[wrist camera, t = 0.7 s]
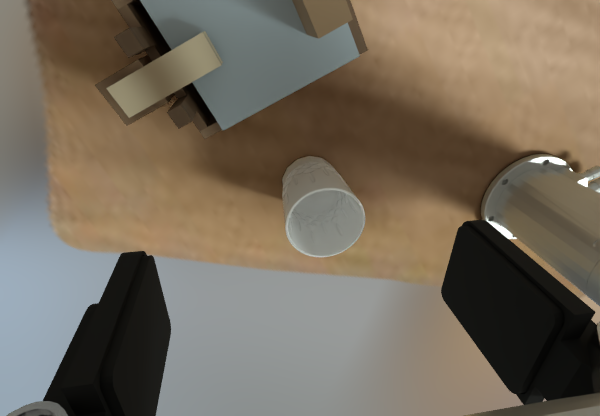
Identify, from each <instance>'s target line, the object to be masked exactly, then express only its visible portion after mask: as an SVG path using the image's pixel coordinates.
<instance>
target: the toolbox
mask: <svg viewBox="0 0 600 416" xmlns="http://www.w3.org/2000/svg"><path fill="white" fill-rule="evenodd" d="M111 1H112V2H113V4H114V5H115V7H116V8H117V10H118V11H119V13H120V14H121V16H122V17H123V18H124V20H125V21H126V23H127V24H128V26H129V27H130V28H129V29H127V30H125V31H124V32H122V33H120V34H119V35H117V36H115V37H114V38H115V39H116V41H117V42H118V44H119V45H120V47H121V48H122V49H123V51H124V52H125V54H126V55H127V56H128V58H129V57H132V56H134V55H137V54H139V53H142V52H144V51H146V53H147V54H148V55H147V56H145V57H143V58H140V59H138V60H137V61H135V62H133V63H131V64H130V65H128V66H126V67H125V68H123V69H121V70H120V71H118V72H116V73H115V74H113V75H111V76H109V77H108V78H106V79H104V80H103V81H101V82H99V83H98V84H96V85H95V86H96V87H97V89H98V90H99V91H100V92H101V94H102V95H103V96H104V98H105V99H106V100H107V101H108V103H109V104H110V105H111V106H112V108H113V109H114V110H115V112H116V113H117V114H118V115H119V117H120V118H121V119H122V120H123V122H124V123H125V124H126V126H127V125H129V124H131V123H133V122H134V121H136V120H138V119H140V118H142V117H143V116H145V115H147V114H149V113H150V112H152V111H154V110H156V109H157V108H159V107H161V106H163V105H164V104H166V103H168V102H169V101H170V100H171V99H172V97H173V96H174V95H175V96H176V97H177V99H178V100H177V101H176V102H175V103H174V104H173V105H172V107H171V108H170V109H169V111H168V112H167V113H168V115H169V116H170V117H171V119H172V120H173V122H174V123H175V124H176V126H177V127H178V129H179V128H181V127H183V126H185V125H186V124H188V123H190V122H192V121H193V122H194V124H195V125H196V127H197V128H198V130H199V131H200V133H201V134H202V136H203V137H204V139H206V138H208V137H210V136H211V135H213V134H215V133H217V132H219V131H221V130H222V128H221V127H220V125H219V124H218V122H217V121H216V119H215V117H214V116H213V114H212V113H211V111H210V110H209V108H208V106H207V105H206V103H205V102H204V100H203V99H202V97H201V95H200V94H199V92H198V91H197V89H196V88H195V86H194V84H193V83H192V82H191V83H190V84H188V85H186V86H184V87H183V88H181V89H179V90H177V91H176V92H174V93H172V94H170V95H169V96H167V97H165V98H163V99H162V100H160V101H158V102H156V103H155V104H153V105H151V106H149V107H148V108H146V109H144V110H142V111H141V112H139V113H137V114H135V115H133V116H132V117H130V118H129V117H128V116H127V115H126V113H125V112H124V111H123V109H122V108H121V107H120V106H119V104H118V103H117V102H116V100H115V99H114V98H113V97H112V95H111V94H110V93H109V91H108V90H107V89H106V88H108V87H110V86H111V85H113V84H115V83H116V82H118V81H120V80H122V79H123V78H125V77H127V76H128V75H130V74H132V73H134V72H135V71H137V70H139V69H140V68H142V67H144V66H145V65H147V64H149V63H151V62H152V61H154V60H156V59H157V58H159V57H161V56H163V55H164V54H166V53H168V52H169V51H171V48H170V47H169V45H168V44H167V42H166V40H165V39H164V37H163V36H162V34H161V33H160V31H159V29H158V28H157V26H156V25H155V23H154V21H153V20H152V18H151V17H150V15H149V14H148V12H147V10H146V9H145V7H144V6H143V4H142V3H141V1H140V0H111ZM346 1H347V4H348V7H349V10H350V12H351V15H352V18H353V20H351V21H349V22H348V25H349V28H350V30H351V33H352V36H353V39H354V41H355V44H356V47H357V49H358V52H359V55H360V54H362V53H363V52H365V51H367V47H366V44H365V41H364V38H363V35H362V33H361V30H360V27H359V24H358V21H357V18H356V16H355V13H354V10H353V7H352V4H351V1H350V0H346Z"/></svg>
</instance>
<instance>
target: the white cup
mask: <svg viewBox="0 0 600 416" xmlns="http://www.w3.org/2000/svg"><path fill="white" fill-rule="evenodd" d="M282 187H283V192H282V198H283V200H282V201H283V210H284V219H285V229H286V234H287V237H288V240H289V241H290V243H291V244H292V245H293V247H294V248H296V249H297V250H298V251H300V252H301V253H303V254H306V255H308V256H313V257H329V256H333V255H336V254H339V253H341V252H343V251H345V250H346V249H348V248H349V247H351V246H352V245H353V244H354V243H355V242H356V241H357V240H358V238H359V237H360V235H361V233H362V231H363V229H364V225H365V212H364V208H363V206H362V204H361V202H360V201H359V200H358V198H357V197H356V196H355V194H354V193H353V191H352V190H351V189H350V187H349V186H348V185H347V183H346V182H345V181H344V179H343V178H342V177H341V176H340V174H339V173H338V172H337V171H336V170H335V169H334V167H333V166H332V165H331V164H330V163H329V162H327V161H326V160H324V159H323V158H320V157H313V156H307V157H304V158H300V159H297V160H296V161H295V162H293V163H292V164H291V165H290V166H289V167H287V169H286V171H285V174H284V176H283V178H282Z"/></svg>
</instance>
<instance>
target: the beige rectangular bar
mask: <svg viewBox="0 0 600 416" xmlns="http://www.w3.org/2000/svg"><path fill="white" fill-rule="evenodd" d="M222 63H223V61H222V60H221V58H220V56H219V54H218V53H217V51H216V49H215V47H214V46H213V44H212V42H211V40H210V39H209V37H208V35H207V33H206V32H205V31H204V32H202V33H200V34H198V35H197V36H195V37H193V38H192V39H190V40H188V41H186V42H185V43H183V44H181V45H180V46H178V47H176V48H175V49H173V50H171V51H169V52H168V53H166V54H164V55H163V56H161V57H159V58H157V59H156V60H154V61H152V62H151V63H149V64H147V65H145V66H144V67H142V68H140V69H139V70H137V71H135V72H134V73H132V74H130V75H128V76H127V77H125V78H123V79H122V80H120V81H118V82H116V83H115V84H113V85H111V86H110V87H108V88H106V89H107V90H108V91H109V93H110V94H111V95H112V97H113V98H114V99H115V100H116V102H117V103H118V104H119V106H120V107H121V108H122V109H123V111H124V112H125V113H126V115H127V116H128V117H129V118H130V117H132V116H133V115H135V114H137V113H139V112H141V111H142V110H144V109H146V108H148V107H149V106H151V105H153V104H155V103H156V102H158V101H160V100H162V99H163V98H165V97H167V96H169V95H170V94H172V93H174V92H176V91H177V90H179V89H181V88H183V87H184V86H186V85H188V84H190V83H191V82H193V81H195V80H197V79H198V78H200V77H202V76H204V75H205V74H207V73H209V72H211V71H213V70H214V69H216V68H218V67H220V66H221V65H222Z"/></svg>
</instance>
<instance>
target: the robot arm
mask: <svg viewBox="0 0 600 416" xmlns="http://www.w3.org/2000/svg"><path fill="white" fill-rule="evenodd" d="M599 176H600V167H599V166H595V167H593V168H591V169H589V170H587V171H585V172H584V173H575V172H573V170H572V169H571V167H570V166H569V164H567V163H566V162H565V161H564V160H562V159H560V158H558V157H556V156H553V155H549V154H537V155H531V156H528V157H525V158H522V159H520V160H518V161H516V162H514V163H513V164H511V165H510V166H508V167H507V168H505V169H504V170H503V171H502V172H501V173H500V174H498V176H497V177H496V178H495V179H494V180H493V181H492V183H491V184H490V186H489V187H488V189H487V191H486V193H485V195H484V197H483V201H482V205H481V217H482V220H474V221H466V222H464V223H463V225H462V226H461V227H459V228H458V231H457V235H456V238H455V242H454V245H453V249H452V253H451V256H450V260H449V264H448V267H447V271H446V274H445V278H444V282H443V285H442V290H441V293H442V297H443V299H444V301H445V302H446V304H447V305H448V307H449V308H450V309H451V311H452V312H453V314H454V315H455V316H456V318H457V319H458V320H459V322H460V323H461V325H462V326H463V327H464V329H465V330H466V332H467V333H468V334H469V336H470V337H471V338H472V340H473V341H474V342H475V344H476V345H477V347H478V348H479V349H480V351H481V352H482V354H483V355H484V356H485V358H486V359H487V361H488V362H489V363H490V365H491V366H492V367H493V369H494V370H495V371H496V373H497V374H498V376H499V377H500V378H501V380H502V381H503V383H504V384H505V385H506V387H507V388H508V389H509V390H510V391H511V392H512V393H514V394H516V395H517V396H518V397H519V399H520V400H521V402H522V403H523V404H524V405H522V406H516V407H510V408H504V409H499V410H493V411H487V412H482V413H476V414H470V415H465V416H600V322H599V323H598V324H597V325H596V324H595V323H594V322H593V321H592V320H591V319H592V317H593V315H594V314H595V311H593V310H592V309H591V308H590V307H589V306H588V305H586V304H585V303H584V302H583V301H582V300H580V299H579V298H578V297H577V296H576V295H575V294H573V293H572V292H571V291H570V290H569V289H567V288H566V287H565V286H564V285H563V284H561V283H560V282H559V281H558V280H557V279H555V278H554V277H553V276H552V275H551V274H549V273H548V272H547V271H546V270H545V269H543V268H542V267H541V266H540V265H539V264H537V263H536V262H535V261H534V260H533V259H532V258H530V257H529V256H528V255H527V254H526V253H524V252H523V251H522V250H521V249H520V248H518V247H517V246H516V245H515V244H514V243H512V242H511V241H510V240H509V239H519V240H520V241H521V242H522V243H523V244H525V245H526V246H527V247H528V248H529V249H531V250H532V251H533V252H534V253H535V254H537V255H538V256H539V257H540V258H542V259H543V260H544V261H545V262H546V263H548V264H549V265H550V266H551V267H552V268H554V269H555V270H556V271H557V272H559V273H560V274H561V275H562V276H563V277H565V278H566V279H567V280H568V281H569V282H571V283H572V284H573V285H574V286H576V287H577V288H578V289H579V290H580V291H582V292H583V293H584V294H585V295H586V296H588V297H589V298H590V299H591V300H593V301H594V302H595V303H596V304H598V305H599V306H600V178H598V179H596V180H594V181H592V182H590V183H589V184H587V181H590V180H593V179H595V178H597V177H599ZM170 325H171V324H170V319H169V316H168V312H167V308H166V304H165V300H164V296H163V292H162V288H161V284H160V280H159V276H158V272H157V268H156V264H155V261H154V257H153V256H152V255H150V256H147V255H146V253H145V252H144V251H138V252H127V253H122V254H121V255H120V257H119V259H118V262H117V264H116V266H115V268H114V271H113V273H112V275H111V277H110V279H109V282H108V284H107V286H106V288H105V291H104V293H103V295H102V297H101V299H100V302H99V303H98V304H92V305H90V306H89V307H88V309H87V310H86V312H85V314H84V316H83V318H82V320H81V322H80V325H79V327H78V329H77V331H76V333H75V335H74V337H73V339H72V341H71V343H70V345H69V348H68V349H67V352H66V354H65V356H64V358H63V360H62V362H61V364H60V366H59V368H58V370H57V372H56V375H55V376H54V379H53V381H52V383H51V385H50V387H49V389H48V391H47V393H46V395H45V397H44V399H43V401H41V402H35V403H31V404H28V405H25V406H23V407H21V408H19V409H17V410H15V411H13V412H11V413H9V414H8V415H7V416H155V415H156V410H157V405H158V399H159V394H160V388H161V383H162V378H163V373H164V367H165V362H166V356H167V351H168V346H169V340H170V334H171V326H170ZM544 398H545V399H546V400H547V401H544V402H542V401H543V399H544Z"/></svg>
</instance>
